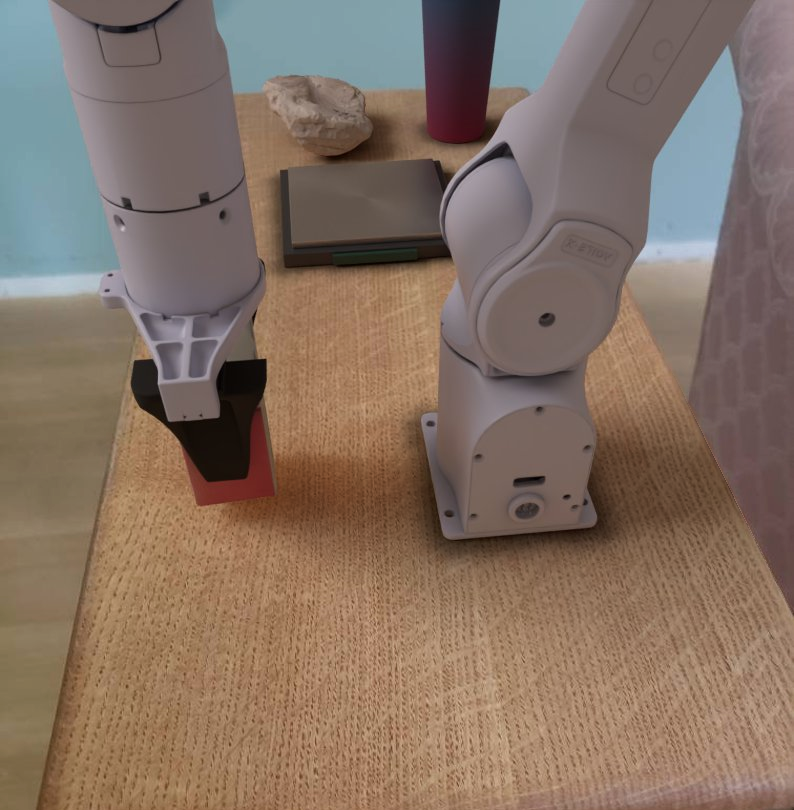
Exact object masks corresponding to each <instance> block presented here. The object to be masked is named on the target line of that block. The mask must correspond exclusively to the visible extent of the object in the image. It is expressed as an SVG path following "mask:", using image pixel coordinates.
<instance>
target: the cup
mask: <svg viewBox="0 0 794 810" xmlns="http://www.w3.org/2000/svg"><path fill="white" fill-rule="evenodd" d="M500 7H501V0H421V15H422V16H421V17H422V39H423V40H422V41H423V42H422V43H423V63H424V65H423V66H424V86H425V90H424V91H425V111H426V131H427V134H428V135H429V136H430V137H431V138H432V139H435V140H437V141H440V142H444V143H451V144H460V143H461V144H463V143H469V142H473V141H475V140H478V139H480V138H481V137H482V136H483V134H484V133H485V126H486V119H487V118H486V117H487V111H488V103H489V95H490V88H491V80H492V79H491V78H492V72H493V63H494V54H495V47H496V39H497V31H498V23H499V16H500Z"/></svg>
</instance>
